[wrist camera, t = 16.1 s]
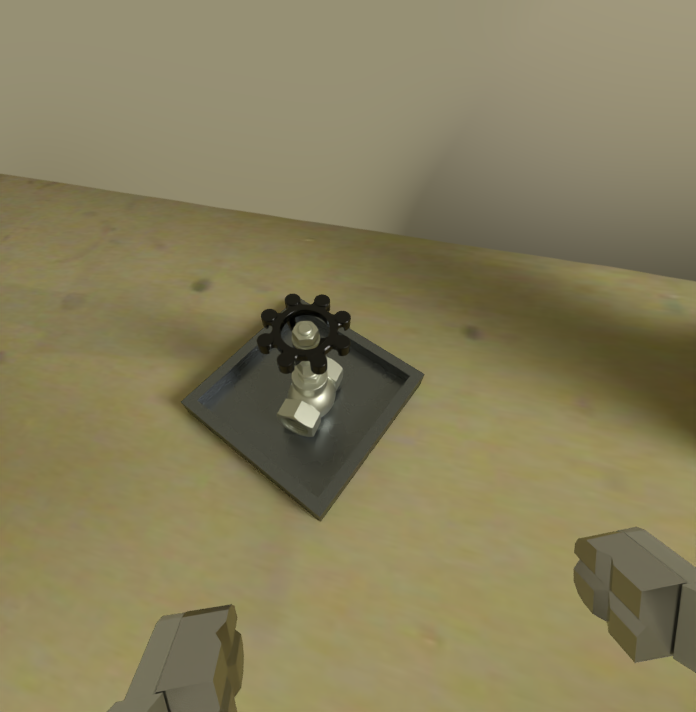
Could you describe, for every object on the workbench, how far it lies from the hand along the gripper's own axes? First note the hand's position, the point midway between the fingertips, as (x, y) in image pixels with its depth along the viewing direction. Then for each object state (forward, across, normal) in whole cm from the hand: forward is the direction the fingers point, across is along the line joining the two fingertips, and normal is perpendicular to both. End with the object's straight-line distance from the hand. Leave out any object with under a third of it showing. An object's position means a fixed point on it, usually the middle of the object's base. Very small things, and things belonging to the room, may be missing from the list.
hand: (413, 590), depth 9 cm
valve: (+26, +2, +5) cm, 27 cm away
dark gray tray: (+27, +3, +4) cm, 28 cm away
